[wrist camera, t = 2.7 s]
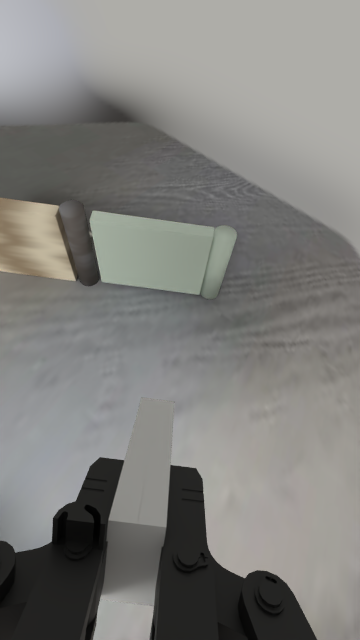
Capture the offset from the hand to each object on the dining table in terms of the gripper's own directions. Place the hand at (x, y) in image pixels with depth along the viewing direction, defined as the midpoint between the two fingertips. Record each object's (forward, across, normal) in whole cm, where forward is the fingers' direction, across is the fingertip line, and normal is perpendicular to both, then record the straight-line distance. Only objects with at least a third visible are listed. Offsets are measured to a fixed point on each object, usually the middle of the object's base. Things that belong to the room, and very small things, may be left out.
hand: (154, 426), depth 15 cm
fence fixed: (+22, -16, +3) cm, 27 cm away
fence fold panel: (+21, -2, +3) cm, 22 cm away
